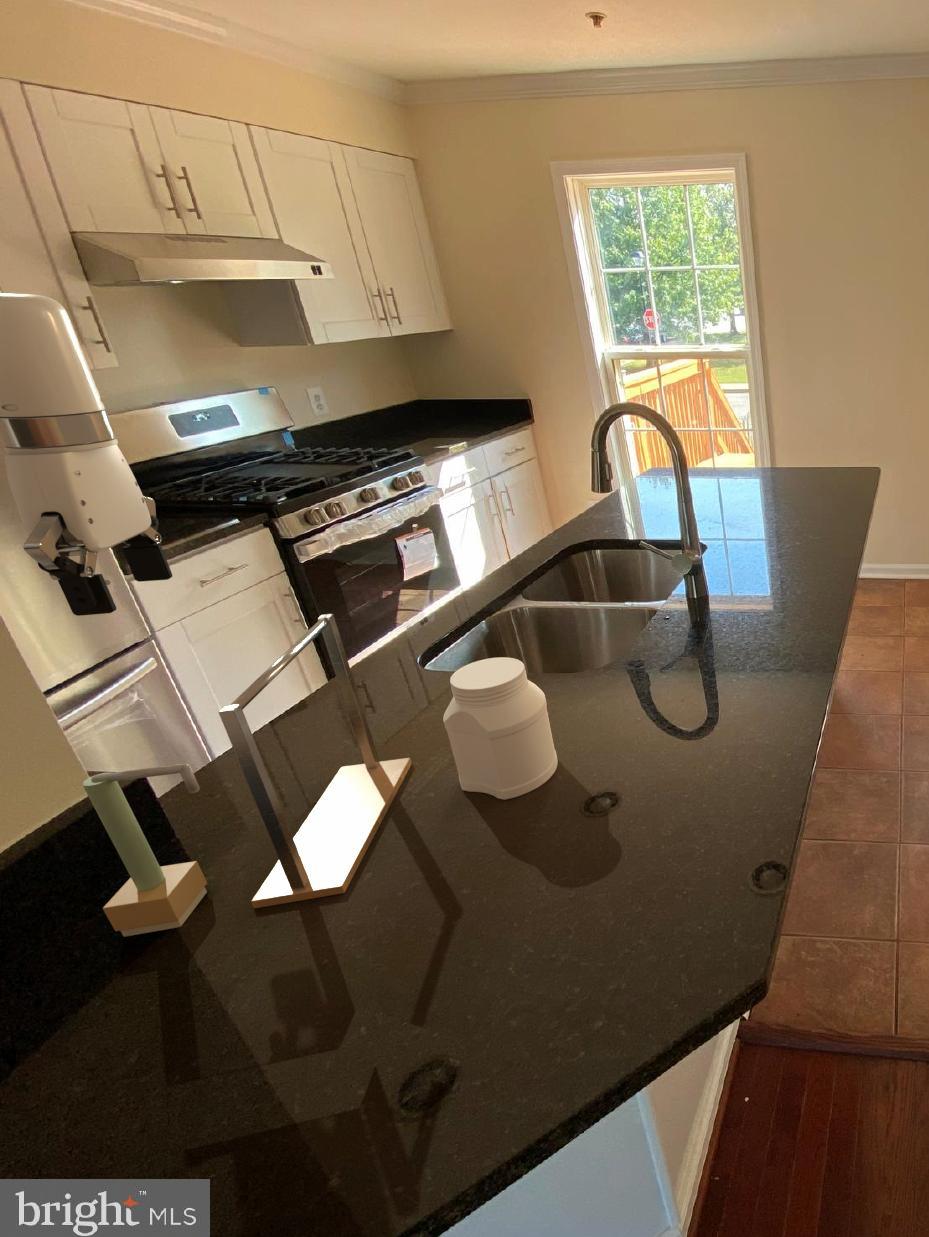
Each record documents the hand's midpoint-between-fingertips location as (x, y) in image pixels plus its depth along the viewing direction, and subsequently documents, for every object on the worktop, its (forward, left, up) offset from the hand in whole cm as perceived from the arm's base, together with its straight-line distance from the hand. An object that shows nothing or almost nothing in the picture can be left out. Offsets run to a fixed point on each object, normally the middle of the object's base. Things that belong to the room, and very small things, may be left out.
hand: (127, 595), depth 74 cm
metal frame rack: (+16, -8, -28) cm, 33 cm away
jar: (+33, -2, -28) cm, 43 cm away
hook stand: (+6, -18, -28) cm, 34 cm away
